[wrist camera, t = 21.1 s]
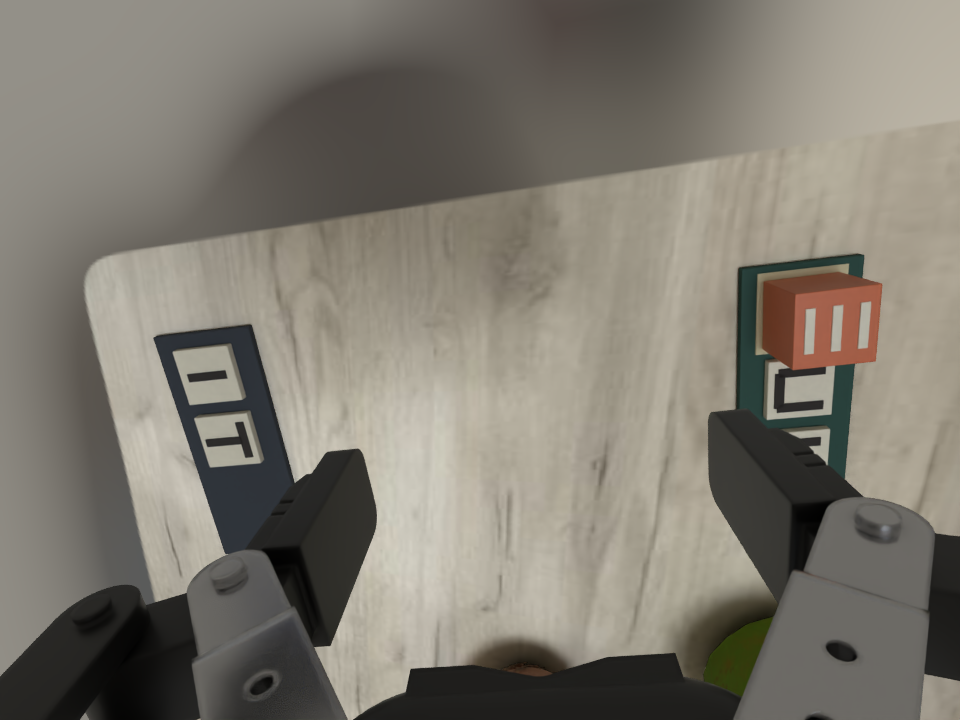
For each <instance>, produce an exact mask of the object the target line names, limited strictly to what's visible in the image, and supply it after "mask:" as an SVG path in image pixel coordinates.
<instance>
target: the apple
mask: <svg viewBox="0 0 960 720" xmlns="http://www.w3.org/2000/svg"><path fill="white" fill-rule="evenodd" d="M773 618H774V617H770V618H767V619H763V620H760V621H756V622H753V623H749V624H747V625H745V626H744V627H742V628H741V629H739V630H738V631H736V632H735V633H733V634H732V635H730V636H729V637H727V638H726V639H725V640H724V641H723V642H722V643H721V644H720V645H719V646H718V647H717V648H716V649H715V650H714V651H713V652H712V653H711V655H710V656H709V659H708V662H707V665H706V668H705V671H704V673H703V676H704V682H708V683H711V684H714V685H716V686H719V687H722V688H724V689H727V690H729V691H731V692H733V693H735V694H737V695H739V696H741V697H742V696H743V693H744V691H745V688H746V686H747V683H748V681H749V678H750V676H751V673H752V671H753V668H754V666H755V663H756V661H757V658H758V656H759V653H760V651H761V648H762V645H763V643H764V640H765V638H766V635H767V633H768V630H769V628H770V625H771V623H772V620H773Z"/></svg>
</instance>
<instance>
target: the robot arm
mask: <svg viewBox="0 0 960 720" xmlns="http://www.w3.org/2000/svg"><path fill="white" fill-rule="evenodd" d="M708 465H709V482H710V488H711V491H712V495H713V498H714V500H715V502H716V504H717V506H718V507H719V509H720V510H721V512H722V514H723V515H724V517H725V519H726V520H727V522H728V523H729V525H730V527H731V528H732V530H733V531H734V533H735V535H736V536H737V538H738V540H739V541H740V543H741V544H742V546H743V548H744V549H745V551H746V553H747V554H748V556H749V557H750V559H751V561H752V562H753V564H754V566H755V567H756V569H757V570H758V572H759V574H760V575H761V577H762V578H763V580H764V582H765V583H766V585H767V587H768V588H769V590H770V591H771V593H772V595H773V596H774V598H775V600H776V601H777V603H778V604H779V605H778V608H777V610H776V613H775V615H774V618H773V620H772V623H771V625H770V628H769V630H768V633H767V635H766V638H765V640H764V643H763V645H762V648H761V651H760V653H759V656H758V658H757V661H756V663H755V666H754V668H753V671H752V673H751V676H750V678H749V681H748V683H747V686H746V688H745V691H744V693H743V696H742V697H741V696H739V695H737V694H735V693H733V692H731V691H729V690H727V689H724V688H722V687H719V686H716V685H714V684H711V683H708V682H704V681H701V680H697V679H693V678H688V677H683V675H682V672H681V669H680V666H679V663H678V660H677V657H676V654H675V653H668V654H651V655H635V656H618V657H606V658H603V659H600V660H596V661H593V662H590V663H586V664H583V665H580V666H576V667H573V668H570V669H566V670H563V671H560V672H556V673H553V674H550V675H546V676H531V675H525V674H520V673H514V672H508V671H503V670H497V669H492V668H486V667H481V666H475V665H467V666H450V667H433V668H417V669H411V670H410V675H409V679H408V684H407V689H406V692H405V693H402V694H398V695H396V696H394V697H391V698H389V699H386V700H384V701H382V702H380V703H378V704H377V705H375V706H373V707H371V708H369V709H368V710H366V711H365V712H363V713H362V714H360V715H359V716H358V717H356V718H355V719H353V720H920V713H921V702H922V691H923V681H924V674H927V675H933V676H938V677H943V678H948V679H953V680H958V681H960V537H959V536H950V535H943V534H936V533H935V532H934V530H933V527H932V526H931V525H930V523H929V522H928V521H927V520H925V519H924V518H923V517H922V516H920V515H919V514H917V513H916V512H914V511H912V510H910V509H908V508H906V507H903V506H901V505H898V504H895V503H892V502H889V501H885V500H880V499H875V498H866V497H863V496H862V495H861V494H860V493H859V492H858V491H857V490H856V489H854V488H853V487H852V486H851V485H850V484H849V483H848V482H847V481H846V480H845V479H844V478H843V477H841V476H840V475H839V474H838V473H837V472H836V471H835V470H834V469H833V468H832V467H831V466H829V465H826V462H825V461H824V460H823V459H822V458H821V457H820V456H819V455H818V454H814V451H813V450H812V449H811V448H810V447H809V446H808V445H807V444H806V443H804V442H803V441H802V440H801V439H800V438H799V437H796V436H794V435H792V434H790V433H788V432H785V431H783V430H781V429H779V428H767V427H766V426H765V425H764V424H763V423H762V422H761V421H760V420H759V419H758V418H757V417H756V416H755V415H754V414H753V413H752V412H751V411H750V410H749V409H737V410H727V411H718V412H711V413H710V415H709V419H708ZM376 523H377V512H376V505H375V500H374V496H373V492H372V488H371V484H370V480H369V476H368V472H367V468H366V464H365V460H364V456H363V454H362V452H361V450H359V449H350V450H340V451H331V452H327V453H326V454H325V455H324V456H323V458H322V459H321V461H320V462H319V464H318V465H317V467H316V468H315V470H314V471H313V473H312V474H306V475H305V476H304V477H302V478H301V479H300V480H298V481H297V482H296V483H295V484H293V485H292V486H291V487H289V489H288V490H287V491H286V493H285V494H284V496H283V497H282V498H281V500H280V501H279V504H277V505H276V507H275V508H274V509H273V511H272V512H271V516H268V518H267V519H266V521H265V522H264V523H263V525H262V526H261V528H260V529H259V530H258V532H257V533H256V535H255V536H254V537H253V539H252V540H251V541H250V543H249V544H248V546H247V547H246V548H245V550H242V551H238V552H234V553H231V554H228V555H226V556H223V557H221V558H219V559H217V560H215V561H214V562H212V563H210V564H209V565H207V566H206V567H205V568H203V569H202V570H201V571H200V572H199V573H198V574H197V575H196V576H195V577H194V578H193V579H192V581H191V582H190V584H189V586H188V589H187V593H185V594H182V595H178V596H175V597H172V598H169V599H165V600H162V601H159V602H155V603H152V604H149V605H146V604H145V602H144V600H143V598H142V595H141V593H140V591H139V589H138V588H136V587H135V586H132V585H119V586H113V587H110V588H106V589H104V590H101V591H98V592H96V593H94V594H91V595H89V596H87V597H86V598H84V599H82V600H80V601H79V602H77V603H75V604H74V605H72V606H71V607H69V608H68V609H67V610H66V611H64V612H63V613H62V614H61V615H60V616H59V617H58V618H56V619H55V620H54V621H53V623H52V624H51V625H50V626H49V627H48V628H47V629H46V630H45V631H44V632H43V633H42V634H41V635H40V636H39V637H38V638H37V639H36V640H35V641H34V642H33V643H32V644H31V645H30V646H29V647H28V649H26V651H24V653H23V654H22V655H21V656H20V657H19V658H18V659H17V660H16V661H15V662H14V663H13V664H12V665H11V666H10V667H9V668H8V669H7V670H6V671H5V672H4V673H3V674H2V675H1V676H0V720H80V719H81V717H82V716H83V715H84V713H85V712H86V714H87V716H88V718H89V720H197V719H199V718H201V720H348V719H347V717H346V715H345V713H344V710H343V708H342V706H341V704H340V702H339V700H338V698H337V695H336V693H335V691H334V689H333V687H332V685H331V683H330V680H329V678H328V676H327V674H326V672H325V670H324V668H323V666H322V663H321V661H320V659H319V657H318V655H317V653H316V651H315V648H314V647H321V646H331V643H332V641H333V638H334V636H335V633H336V630H337V628H338V625H339V623H340V620H341V618H342V615H343V612H344V610H345V607H346V605H347V602H348V600H349V597H350V594H351V592H352V589H353V587H354V584H355V582H356V579H357V577H358V574H359V571H360V569H361V566H362V564H363V561H364V559H365V556H366V553H367V551H368V548H369V546H370V543H371V541H372V538H373V535H374V533H375V529H376Z"/></svg>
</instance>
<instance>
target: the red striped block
mask: <svg viewBox="0 0 960 720" xmlns="http://www.w3.org/2000/svg"><path fill="white" fill-rule="evenodd" d="M881 294H882V284H881V283H878V282H874V281H870V280H867V279H863V278H860V277H856V276H852V275H849V274H845V273H842V272H835V273H827V274H819V275H811V276H803V277H795V278H787V279H779V280H771V281H764V290H763V348H762V349H763V350H764V351H766V352H767V353H768V354H770V355H771V356H773V357H774V358H776V359H777V360H779V361H780V362H782V363H783V364H784V365H786V366H787V367H789V368H790V369H792V370H799V369H809V368H818V367H827V366H837V365H846V364H856V363H865V362H874V361H876V352H877V340H878V329H879V317H880V305H881Z"/></svg>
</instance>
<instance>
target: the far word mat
mask: <svg viewBox="0 0 960 720" xmlns="http://www.w3.org/2000/svg"><path fill="white" fill-rule="evenodd" d="M154 341H155V344H156V347H157V350H158V353H159V356H160V359H161V362H162V365H163V368H164V371H165V374H166V377H167V380H168V383H169V386H170V389H171V392H172V395H173V398H174V401H175V404H176V407H177V410H178V413H179V416H180V419H181V422H182V425H183V428H184V431H185V434H186V437H187V440H188V443H189V446H190V449H191V452H192V455H193V458H194V461H195V464H196V467H197V470H198V473H199V476H200V479H201V482H202V485H203V488H204V491H205V494H206V497H207V501H208V504H209V507H210V510H211V513H212V516H213V519H214V522H215V525H216V528H217V531H218V534H219V537H220V540H221V543H222V546H223V549H224V552H225V554H231V553H234V552H238V551H242V550H245V548H246V547H247V546H248V544H249V543H250V541H251V540H252V539H253V537H254V536H255V535H256V533H257V532H258V530H259V529H260V528H261V526H262V525H263V523H264V522H265V521H266V519H267V518H268V516H271V512H272V511H273V509H274V508H275V507H276V505H277V504H279V501H280V500H281V498H282V497H283V496H284V494H285V493H286V491H287V490H288V489H289V487H291V486H292V485H293V484H294V480H293V476H292V473H291V469H290V465H289V462H288V458H287V454H286V451H285V447H284V443H283V440H282V436H281V432H280V429H279V425H278V421H277V418H276V414H275V410H274V407H273V403H272V399H271V396H270V392H269V388H268V385H267V381H266V377H265V374H264V370H263V366H262V363H261V359H260V355H259V352H258V348H257V344H256V341H255V337H254V333H253V330H252V326H251V325H246V326H237V327H229V328H220V329H212V330H203V331H194V332H186V333H177V334H169V335H160V336H156V337H154Z"/></svg>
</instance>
